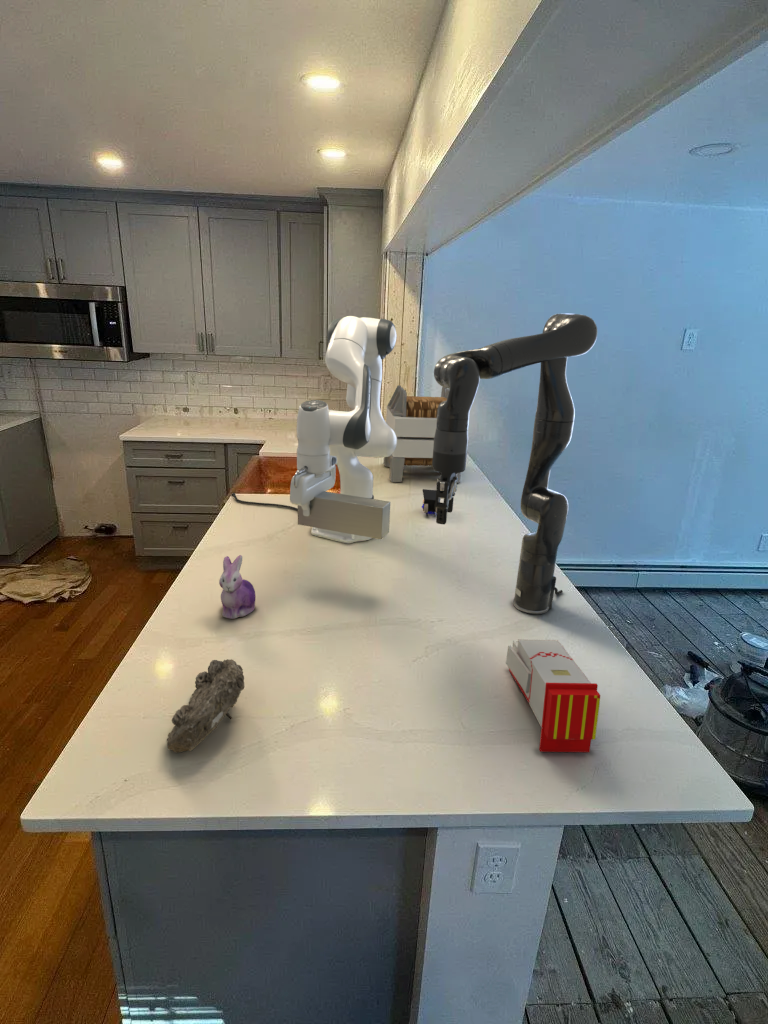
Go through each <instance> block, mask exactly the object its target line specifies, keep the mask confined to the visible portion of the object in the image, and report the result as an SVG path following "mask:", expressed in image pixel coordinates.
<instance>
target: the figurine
mask: <svg viewBox="0 0 768 1024" xmlns="http://www.w3.org/2000/svg"><path fill="white" fill-rule="evenodd" d="M222 560H223V561H222V571H223V572H222V573H221V575H220V578H219V579H218V585H219V587H220V588H221V589H222V591H221V593H220V602H221V605H222V614H221V615H222V617H223V618H226V619H237V618H241V617H245V616H247V615H249V614H251V613H253V612H254V611H255V607H256V590H255V588H254V586H253V585H254V584H252V583H251V582H250V581H249V580H247V579H243V577H242V575H241V573H240V570H241V568H242V564H243V555H241V554H239V555H237V557H236V558H234V560H233V562H232V561H231V558H230V556H228V555H226V556H224V557H223V559H222Z"/></svg>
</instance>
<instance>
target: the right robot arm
mask: <svg viewBox="0 0 768 1024" xmlns="http://www.w3.org/2000/svg"><path fill="white" fill-rule="evenodd" d="M597 339H598V326H597V324H596V322H595V320H594V319H593V318H592V317H590V316H589V315H585V314H581V313H564V312H563V313H562V312H561V313H554V314H552V315H550V317H549V318H547V320H546V322H545V324H544V326H543V329H542V333H537V334H531V335H525V336H518V337H512V338H508V339H504V340H500V341H497V342H493V343H490V344H488V345H485V346H483V347H482V346H481V347H480V348H475V349H467V350H461V351H457V352H453V353H449V354H447V355H444V356H443V357H441V358H440V359H439V360H438V361H437V362H436V364H435V366H434V368H433V377H434V380H435V381H436V383H437V384H438V385H439V386H440V387H441V388H442V387H444V388H447V389H450V391H449V395H448V398H447V401H443V402H441V403H440V404H439V406H438V410H437V422H436V431H435V436H434V446H433V459H432V465H431V468H432V470H433V471H436V472H439V473H440V476H439V477H437V481H436V489H435V490H436V500H435V507H436V508H437V513H436V516H435V517H436V518H435V520H436V521H435V523H436V524H438V525H446V524H447V518H448V513H450V514H451V513H452V512H453V511H454V500H455V499H454V497H455V496H456V492H457V490H458V489H457V488H458V487H457V486H458V483H457V480H458V478H457V475H458V473H463V472H465V471H466V468H467V459H468V458H467V457H468V447H469V425H470V412H471V409H472V406H473V404H474V402H475V398H476V395H477V392H478V389H479V385H480V381H481V380H491V379H495V378H498V377H501V376H503V375H506V374H509V373H512V372H516V371H518V370H521V369H524V368H526V367H531V366H533V365H537V364H540V370H539V371H540V373H539V384H538V386H539V387H538V392H537V393H538V394H537V403H536V410H535V415H534V422H533V431H532V433H533V434H532V441H531V448H530V455H529V459H528V461H529V462H528V466H527V471H526V475H525V479H524V483H523V488H522V492H521V496H520V497H521V498H520V512H521V515H522V516H523V517H525V518H526V519H527V520H529V521H532V522H534V523H536V524H537V528H536V531H534V532H532V531H531V532H528V533H526V534H524V535H523V536H522V538H521V539H522V540H521V546H520V554H519V561H518V569H517V576H516V584H515V589H514V597H513V600H512V601H513V602H512V604H513V607H514V608H515V609H516V610H518V611H520V612H522V613H525V614H529V615H530V614H531V615H542V614H543V615H544V614H545V613H547V612H548V611H549V610H552V608H553V602H554V594H555V595H557V596H558V595H561V594H562V593H563V590H562V589H561V590H559V591H558V588H557V587H556V582H557V577H556V576H555V569H556V563H557V555H558V550H559V546H560V545H561V543H562V540H563V537H564V532H565V528H566V524H567V520H568V516H569V515H568V514H569V500H568V499H567V497H566V496H565V495H564V494H562V493H560V492H558V491H555V490H553V489H550V488H549V481H550V476H551V471H552V469H553V466H554V464H556V462H557V460H558V459H559V458H560V457H561V456H562V454H563V453H564V452H565V450H566V449H567V448H568V446H569V444H570V442H571V440H572V436H573V431H574V424H575V419H576V418H575V417H576V410H575V404H574V400H573V398H572V394H571V391H570V387H569V385H568V380H567V364H568V358H571V357H578V356H582V355H585V354H587V353H588V352H589V351H590V350H592V348H593V347H594V346H595V344H596V341H597ZM441 500H443V502H441Z"/></svg>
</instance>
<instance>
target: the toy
mask: <svg viewBox="0 0 768 1024" xmlns="http://www.w3.org/2000/svg"><path fill="white" fill-rule="evenodd" d="M505 659H506V660H505V665H506V666H507V667H508V671H509V673H510V674H511V676H512V678H513V679H514V681H515V682H516V685H517V686H518V688H519V690H520V691H521V692H522V694H523V697H525V699H526V701H527V703H529V707H530V709H531V711H532V712H533V714H534V716H535V718H536V720H537V722H538V724H539V726H540V728H541V729H540V739H539V748H538V751H539V752H540V753H543V752H544V753H590V752H591V744H592V743H591V742H592V740H596V736H597V727H598V720H599V719H598V718H599V710H600V704H601V703H600V702H601V696H602V695H601V694H600V693H599V692H598V687H599V686H598V683H595V682H594V683H592V682H591V681H590V679H589V678H588V677H587V676H586V674H585V673H584V671H583V670H582V669H581V668H580V666H579V665H578V664H577V663H576V662H575V661H576V660H574V659H573V658H572V656H571V655H570V653H568V651H567V650H566V648H565V647H564V645H563V644H562V643H561V642H560V641H559V639H529V638H528V639H524V638H521V639H517V640H512V645H511V644H510V645H509V644H508V646H507V653H506V658H505Z"/></svg>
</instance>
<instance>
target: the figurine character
mask: <svg viewBox="0 0 768 1024" xmlns="http://www.w3.org/2000/svg"><path fill="white" fill-rule="evenodd" d="M421 491H422V496H423V499H422V506H421V508H422V511H423V513H425V515H426V517H429V515H432V517H434V518H435V517H437V508H436V507H435V500H436V489H426V488H422V490H421Z"/></svg>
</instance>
